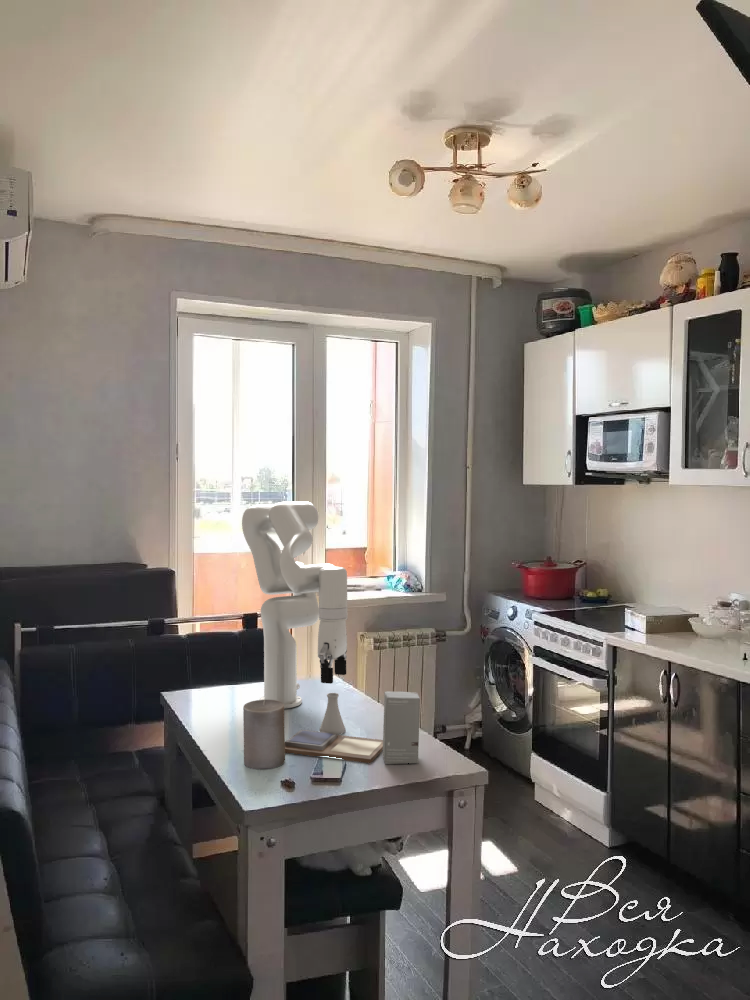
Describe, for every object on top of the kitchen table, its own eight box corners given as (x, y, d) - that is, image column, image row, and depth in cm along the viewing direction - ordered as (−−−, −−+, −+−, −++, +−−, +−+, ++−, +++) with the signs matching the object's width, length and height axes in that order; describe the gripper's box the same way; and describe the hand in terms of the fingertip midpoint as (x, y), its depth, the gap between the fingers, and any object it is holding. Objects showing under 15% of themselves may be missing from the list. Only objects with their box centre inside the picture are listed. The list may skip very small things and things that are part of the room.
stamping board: (300, 734, 212) (300, 726, 212) (388, 744, 205) (388, 736, 205) (277, 751, 199) (277, 743, 199) (370, 763, 191) (370, 754, 191)
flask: (342, 737, 211) (342, 698, 210) (315, 735, 212) (315, 697, 212) (349, 728, 218) (349, 691, 217) (323, 726, 219) (323, 689, 219)
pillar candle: (265, 752, 199) (264, 691, 198) (293, 761, 193) (292, 698, 192) (235, 763, 191) (234, 700, 191) (263, 773, 185) (262, 708, 185)
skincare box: (384, 765, 190) (384, 698, 190) (382, 754, 198) (382, 690, 197) (420, 764, 191) (420, 697, 190) (416, 753, 198) (417, 689, 198)
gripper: (331, 608, 223) (332, 670, 223) (307, 618, 207) (307, 685, 207) (357, 609, 221) (358, 672, 221) (334, 619, 204) (335, 687, 204)
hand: (333, 678), depth 214 cm, fingers open, 9 cm apart
